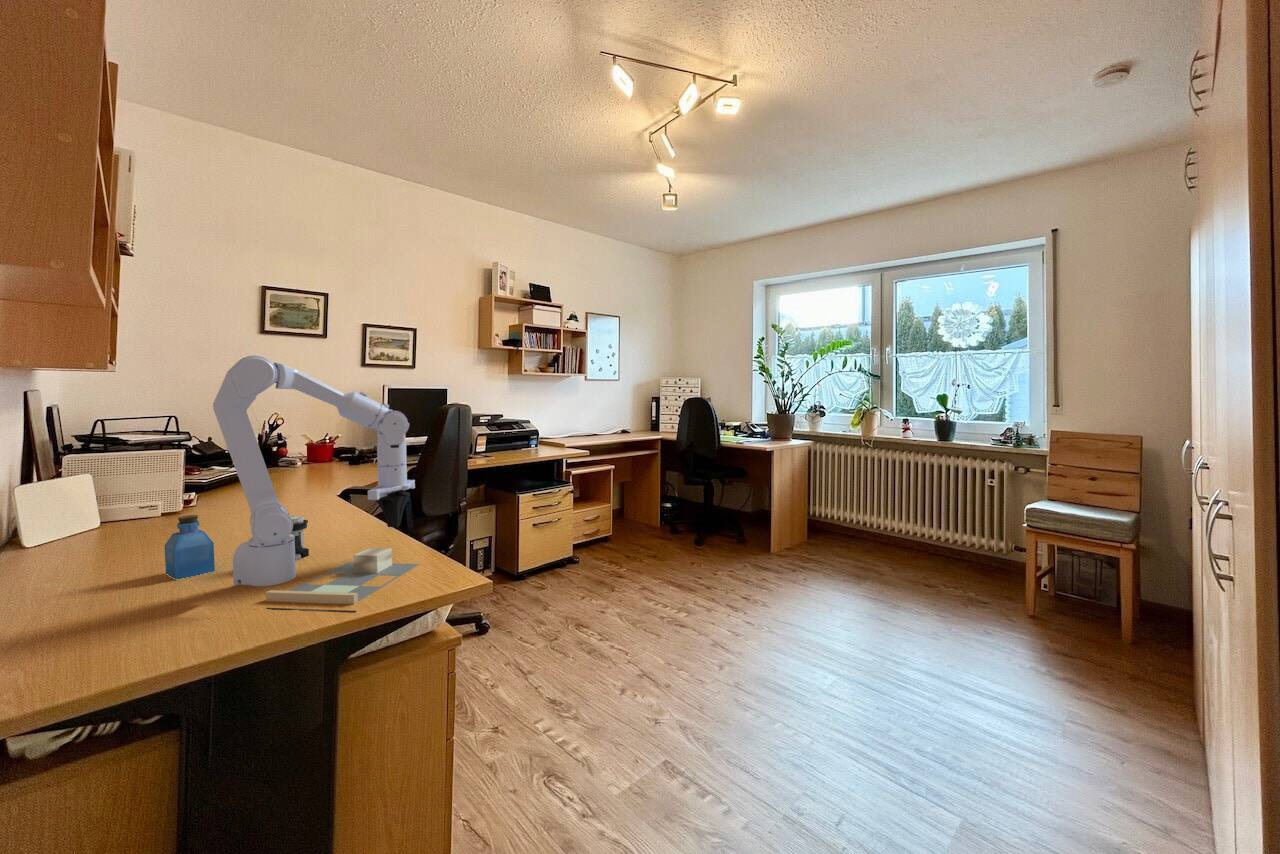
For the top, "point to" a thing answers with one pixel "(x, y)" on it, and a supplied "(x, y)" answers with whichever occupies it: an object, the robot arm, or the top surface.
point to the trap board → (337, 587)
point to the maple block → (372, 560)
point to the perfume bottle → (189, 550)
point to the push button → (299, 537)
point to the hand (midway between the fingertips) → (393, 526)
